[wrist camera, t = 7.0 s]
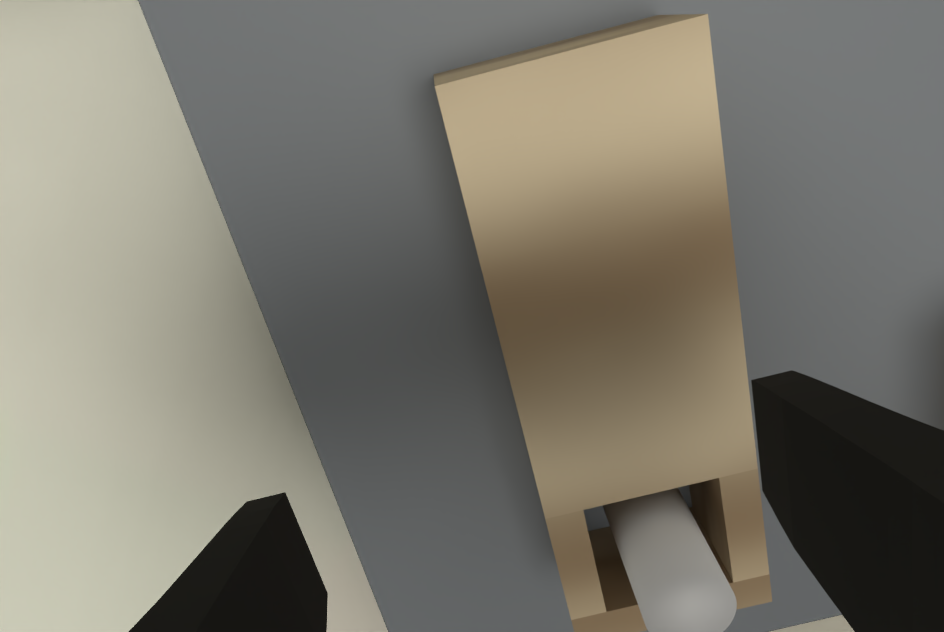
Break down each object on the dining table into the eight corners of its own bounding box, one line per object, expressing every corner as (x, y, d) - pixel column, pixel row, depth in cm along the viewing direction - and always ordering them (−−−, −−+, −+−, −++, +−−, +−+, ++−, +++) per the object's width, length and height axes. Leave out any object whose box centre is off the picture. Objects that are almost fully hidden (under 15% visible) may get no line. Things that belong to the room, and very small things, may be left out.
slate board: (1055, 537, 23) (1252, 701, 18) (420, 685, 24) (417, 885, 18) (1123, -300, 15) (1543, -493, 9) (144, -25, 16) (-12, -50, 10)
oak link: (726, 524, 21) (772, 601, 18) (558, 563, 21) (577, 646, 18) (658, 15, 16) (707, 14, 13) (433, 74, 16) (434, 86, 13)
